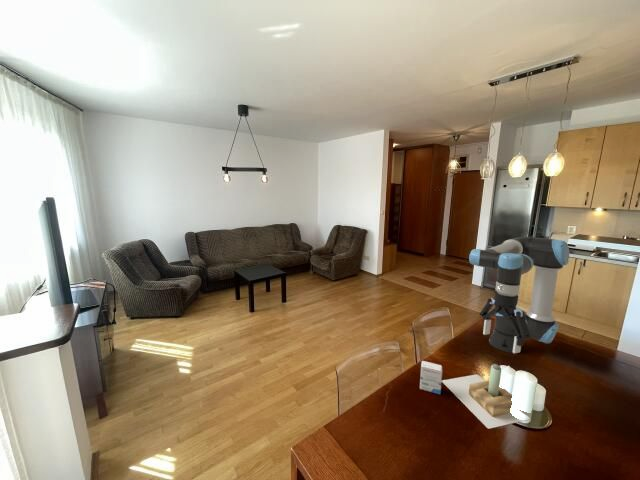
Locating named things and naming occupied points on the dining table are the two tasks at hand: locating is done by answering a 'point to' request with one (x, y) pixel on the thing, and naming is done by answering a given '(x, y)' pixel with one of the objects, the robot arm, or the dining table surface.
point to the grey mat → (462, 393)
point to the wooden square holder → (491, 399)
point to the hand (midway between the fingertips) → (500, 342)
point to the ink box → (431, 377)
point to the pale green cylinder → (494, 380)
